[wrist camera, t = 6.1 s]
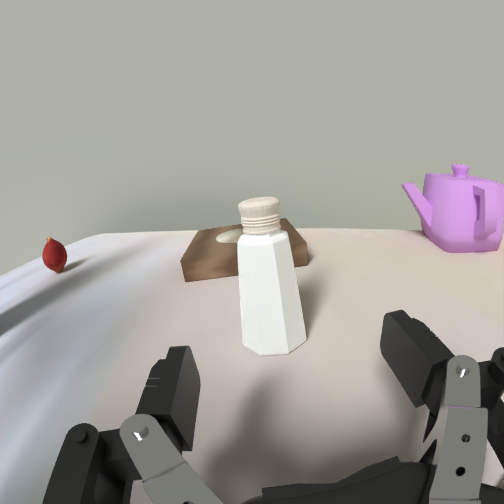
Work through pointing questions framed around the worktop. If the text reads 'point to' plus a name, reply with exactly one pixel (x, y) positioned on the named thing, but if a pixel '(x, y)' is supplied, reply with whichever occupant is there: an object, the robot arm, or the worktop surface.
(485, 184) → the teakettle
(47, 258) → the onion
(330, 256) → the worktop surface
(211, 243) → the walnut plinth
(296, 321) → the pepper shaker
